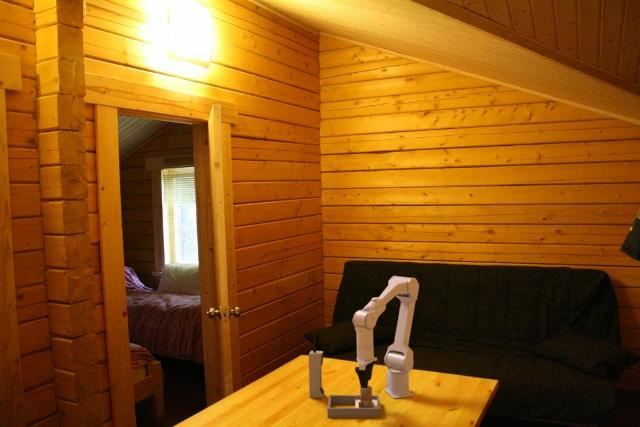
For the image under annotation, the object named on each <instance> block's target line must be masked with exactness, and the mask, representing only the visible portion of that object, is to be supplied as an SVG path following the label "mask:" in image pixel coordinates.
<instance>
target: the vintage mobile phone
mask: <svg viewBox="0 0 640 427" xmlns="http://www.w3.org/2000/svg"><path fill="white" fill-rule="evenodd" d="M312 333H313V334H312V335H313V338H312V339H313V344H312V347H313V348H312V349H313V350H310V352H309V353H308V378H309V379H308V381H309V382H308V386H309V387H308V388H309V390H308V391H309V398H311V399H312V398H315V399H323V397H324V396H325V390H324V387H323V380H322V379H323V378H322V376H323V375H322V374H323V373H322V366H323V364H324V350H323V351H322V350H316V349H317V348H316V345H317V344H316V330H313V331H312Z"/></svg>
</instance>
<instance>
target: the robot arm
mask: <svg viewBox="0 0 640 427" xmlns="http://www.w3.org/2000/svg"><path fill="white" fill-rule="evenodd" d="M419 289H420V284H419V282H418V280H417V279H416V278H415V277H407V276H398V275H393V276H392V277H391V278H390V279H389V280H388V285H387V286H386V287H385V289H384V290H383V291H382V293H381V294H380V295H379V296H378V297H372V298H371V300H370V301H369V302H368V303H367V304H366V305H365V306H364V307H363V308H362V309H360V310H357V311H356V312H355V313H354V314H353V317H352V323H353V325H354V330H355V332H356V356H357V357H356V361H357V363H358V366H355V367H354V371H355V373H356V375H357V378H358V381H359V386H360V387H361V388H367V387H368V386H369V381H371V379H372V376H373V369H374V366H375V363H376V362H377V361H378V357H375V356H374V353H375V352H374V328H375V326H376V325H377V324H376V323H377V322H378V318H379V316H381V314H382V313H384V312H385V310H386V308H387V304H388V303H389V302H390V301H391V300H393V299H394V298H395V297H396V298H397V299H399V301H400V306H399V311H398V312H399V313H398V320H397V325H396V330H395V336H394V342H393V343H392V344H391V345H389V346H388V347H387V351H386V354H385V355H384V358H383V360H384V365H385V367H387V371H386V388H384V391H385V392H386V393H387V394H388V395H389V396H390V397H391V398H393V399H401V398H409V397H413V396H414V394H413V393H412V392H411V391H410V372H411V371H412V369H413V367H414V362H415V361H414V351H413V350H412V349H411V348H410V347H409V341H410V336H411V331H412V330H411V329H412V323H413V318H414V312H415V305H416V301H417V300H418V296H419Z"/></svg>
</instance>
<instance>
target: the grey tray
mask: <svg viewBox="0 0 640 427" xmlns="http://www.w3.org/2000/svg"><path fill="white" fill-rule="evenodd" d="M380 402H381V401H380V395H379V394H372V408H361V399H360V394H349V395H348V394H330V395H328V401H327V409H326V410H327V411H326V412H327V413H326V414H327V418H376V419H377V418H379V419H380V418H381V416H382V415H381V414H382V412H381V403H380ZM332 405H354V406H355V407H332Z"/></svg>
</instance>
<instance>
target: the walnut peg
mask: <svg viewBox="0 0 640 427" xmlns="http://www.w3.org/2000/svg"><path fill="white" fill-rule="evenodd" d="M359 390H360V392H359V393H360V394H359V395H360V399H361V407H360V408H373V407H372V395H373V390H372V386H370V385H368V387H367V388H361V386H360V388H359Z"/></svg>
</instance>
